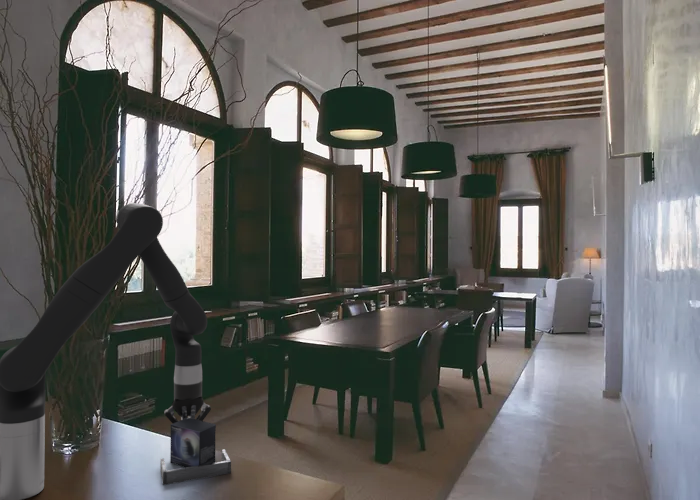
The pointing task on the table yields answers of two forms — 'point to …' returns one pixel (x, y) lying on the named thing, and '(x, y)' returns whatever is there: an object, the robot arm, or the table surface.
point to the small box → (192, 442)
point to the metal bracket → (196, 471)
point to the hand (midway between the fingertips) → (187, 441)
